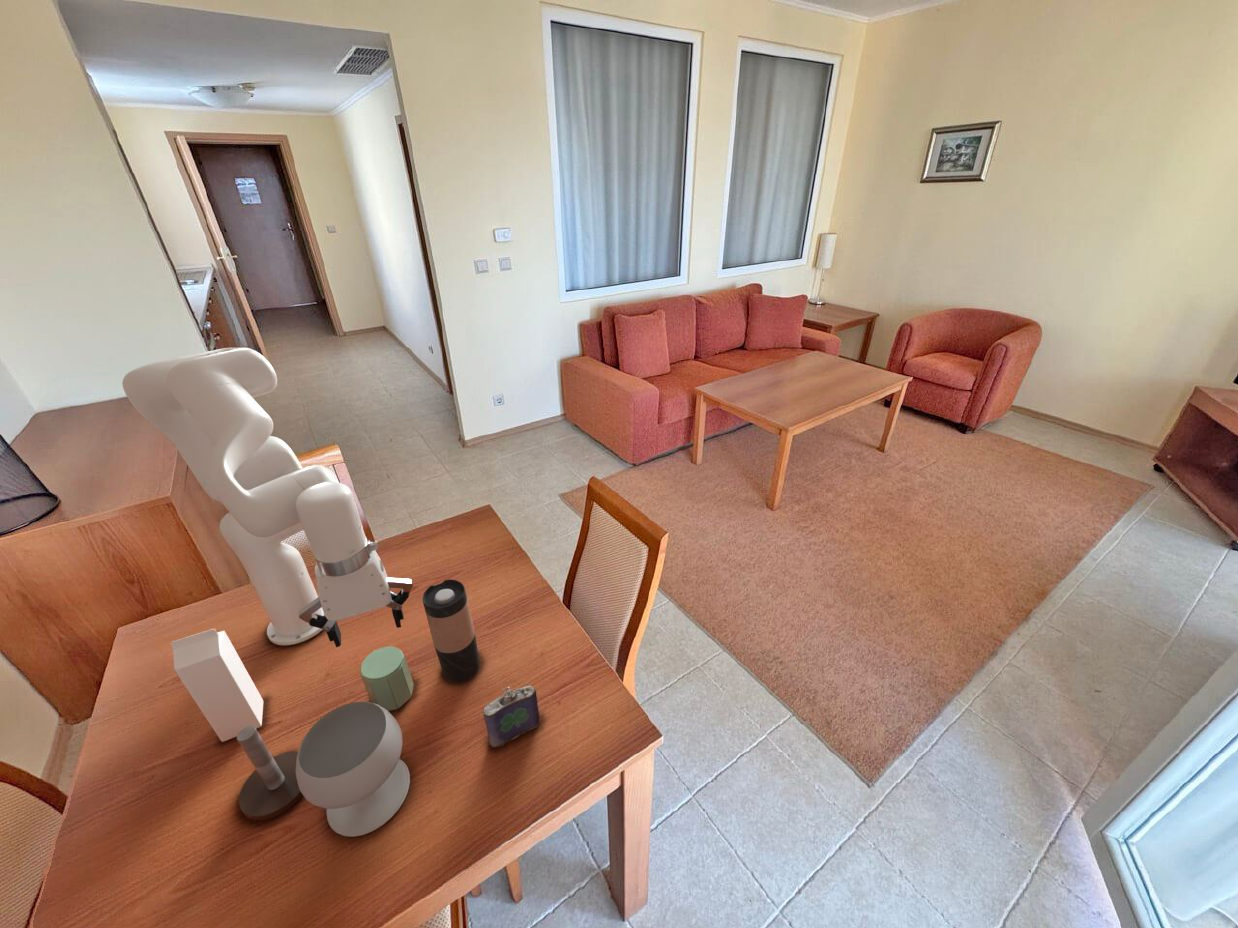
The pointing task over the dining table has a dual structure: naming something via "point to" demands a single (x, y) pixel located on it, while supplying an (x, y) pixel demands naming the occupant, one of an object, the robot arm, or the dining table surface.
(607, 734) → the dining table surface
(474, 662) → the travel mug
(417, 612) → the dining table surface
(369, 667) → the green cup
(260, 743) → the towel holder
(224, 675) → the milk
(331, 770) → the chalice
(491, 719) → the flask
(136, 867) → the dining table surface
